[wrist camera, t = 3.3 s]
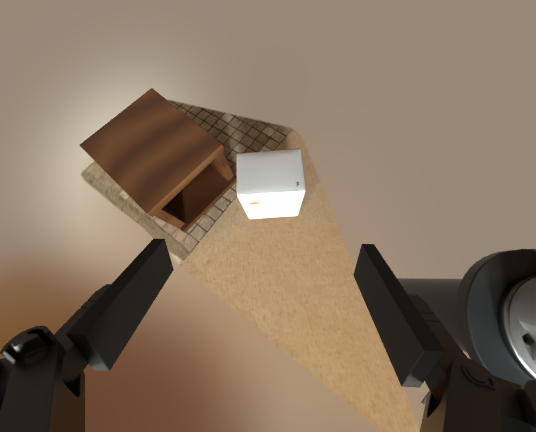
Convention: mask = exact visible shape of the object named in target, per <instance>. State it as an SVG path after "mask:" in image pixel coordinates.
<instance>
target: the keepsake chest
mask: <svg viewBox="0 0 536 432" xmlns="http://www.w3.org/2000/svg"><path fill="white" fill-rule="evenodd" d="M80 146H81V147H82V148H83V149H84V150H85V151H86V152H87V153H88V154H89V155H90V156H91V157H92V158H93V159H94V161H95V162H96V163H97V164H98V165H99V166H100V167H101V168H102V169H103V170H104V171H105V172H106V173H107V174H108V175H109V176H110V177H111V178H112V179H113V180H114V181H115V182H116V183H117V184H118V185H119V186H120V187H121V188H122V189H123V190H124V191H125V192H126V193H127V194H128V195H129V196H130V197H131V198H132V199H133V200H134V201H135V202H136V203H137V204H138V205H139V206H140V207H141V208H142V209H143V210H144V211H145V212H146V213H147V214H148V215H150V216H152V217H153V216H155V217H157V218H159V219H161V220H163V221H165V222H167V223H169V224H171V225H173V226H175V227H177V228H179V229H180V230H181V231H183V232H186V231H187V230H188V229H189V228H190V227H191V226H192V225H193V224H194V223H195V222H196V221H197V220H198V219H199V218H200V217H201V216H202V215H203V214H204V213H205V212H206V211H207V210H208V209H209V208H210V207H211V206H212V205H213V204H214V203H215V202H216V201H217V200H218V199H219V198H221V197H222V196H223V195H224V194H225V193H226V192H227V191H228V190H229V189H230V188H231V187H232V186H233V185H234V184H235V183H236V182H237V179H236V178H235V177H234V176H233V174H232V171H231V169H230V166H229V164H228V162H227V159H226V157H225V155H224V152H223V151H224V147H223V145H222V144H221V143H220V142H219V141H217V140H216V139H215V138H214V137H212V136H211V135H210V134H209V133H207V132H206V131H205V130H204V129H202V128H201V127H200V126H199V125H197V124H196V123H195V122H194V121H192V120H191V119H190V118H189V117H187V116H186V115H185V114H184V113H182V112H181V111H180V110H179V109H177V108H176V107H175V106H174V105H172V104H171V103H170V102H169V101H167V100H166V99H165V98H164V97H162V96H161V95H160V94H159V93H157V92H156V91H155V90H153V89H150V90H149V91H147V92H146V93H145V94H144V95H142V96H141V97H140V98H139V99H137V100H136V101H135V102H133V103H132V104H131V105H130V106H128V107H127V108H126V109H125V110H123V111H122V112H121V113H119V114H118V115H117V116H116V117H114V118H113V119H112V120H111V121H110V122H108V123H107V124H106V125H104V126H103V127H102V128H100V129H99V130H98V131H97V132H95V133H94V134H93V135H92V136H90V137H89V138H88V139H86V140H85V141H84V142H83V143H81V144H80Z"/></svg>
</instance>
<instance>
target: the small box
mask: <svg viewBox="0 0 536 432" xmlns="http://www.w3.org/2000/svg"><path fill="white" fill-rule="evenodd" d="M236 156H237V166H236V167H237V197H238V199H239V201H240V202H241V204H242V206H243V208H244V210H245V212H246V214H247V216H248V218H249V219H259V218H273V217H287V216H298V213H299V210H300V207H301V204H302V201H303V198H304V194H305V191H306V189H305V182H304V174H303V165H302V157H301V150H300V149H289V150H277V151H264V152H251V153H238V154H237V155H236Z"/></svg>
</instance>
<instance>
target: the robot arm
mask: <svg viewBox="0 0 536 432" xmlns="http://www.w3.org/2000/svg"><path fill="white" fill-rule="evenodd" d="M172 271H173V266H172V263H171V259H170V256H169V252H168V249H167V245H166V242H165V239H153V240H152V241H151V242H150V243H149V244H148V245H147V246H146V248H145V249H144V250H143V251H142V252H141V253H140V254H139V255H138V256H137V257H136V258H135V259H134V260H133V262H132V263H131V264H130V265H129V266H128V267H127V268H126V269H125V270H124V271H123V272H122V274H121V275H120V276H119V277H118V278H117V279H116V280H115V281H114V282H113V283H112V284H109V285H108V284H106V285H105V286H103V287H102V288H101V289H99V290H98V291H96V292H95V293H94V294H93V295H92V296H91V297H90V298H89V299H88V301H87V302H85V303H84V304H83V305H82V306H81V309H78V311H77V312H76V313H75V314H74V315H73V316H72V317H71V318H70V319H69V320H68V321H67V322H66V323H65V324H64V325H63V326H62V327H61V328H60V329H59V330H58V331H57V332H56V333H55V334H54V335H53V334H52V333H51V331H50V330H49V329H48V328H47V327H45V326H36V327H33V328H30V329H27V330H26V331H23V332H21V333H20V334H18V335H17V336H15V337H14V338H12V339H11V340H10V341H9V342H8V343H7V344H6V345H5V346H4V347H3V349H2V350H1V352H0V353H1V354H2V355H3V356H4V357H5V358H3V359H0V432H85V375H84V372H83V370H84V369H85V367H86V366H87V364H89V365H90V366H91V367H92V369H93V370H100V371H110V370H111V368H112V366H113V365H114V363H115V362H116V360H117V359H118V357H119V355H120V354H121V352H122V351H123V349H124V347H125V346H126V344H127V343H128V341H129V340H130V338H131V336H132V335H133V333H134V332H135V330H136V328H137V327H138V325H139V324H140V322H141V320H142V319H143V317H144V315H145V314H146V313H147V311H148V309H149V308H150V306H151V305H152V303H153V301H154V300H155V298H156V297H157V295H158V294H159V292H160V290H161V289H162V287H163V286H164V284H165V282H166V281H167V279H168V278H169V276H170V274H171V273H172ZM354 277H355V280H356V282H357V284H358V287H359V289H360V291H361V294H362V296H363V298H364V301H365V303H366V305H367V308H368V310H369V312H370V315H371V317H372V319H373V322H374V324H375V326H376V328H377V331H378V333H379V335H380V338H381V340H382V342H383V345H384V347H385V349H386V352H387V354H388V356H389V359H390V361H391V363H392V366H393V368H394V370H395V372H396V375H397V377H398V379H399V382H400V384H401V386H402V387H420V386H421V385H422V384H423V382H424V381H425V382H426V384H427V386H428V387H429V389H430V391H429V392H428V393H427V395H426V396H425V397H424V399H423V400H422V403H423V404H425V403H426V405H425V409H424V414H423V419H422V424H421V428H420V432H536V275H529V276H525V277H521V278H519V279H517V280H515V281H513V282H512V283H511V284H509V285H508V286H507V288H506V289H505V290H504V291H503V293H502V295H501V297H500V300H499V303H498V309H497V320H498V327H499V331H500V334H501V337H502V340H503V342H504V344H505V346H506V348H507V350H508V352H509V353H510V355H511V357H512V358H513V359H514V361H515V362H516V363H517V365H518V366H519V367H520V368H521V369H522V370H523V371H524V372H525V373H526V374H527V375H528V376H529V377H530V378H532V379H533V380H532V381H527V382H526V383H525V384H524V385H522V386H521V385H518V384H515V383H512V382H510V381H507V380H504V379H501V378H498V377H495V376H493V375H492V374H491V373H490V372H489V371H488V370H487V369H486V368H485V367H483V366H482V365H480V364H479V363H477V362H476V361H474V360H471V359H469V358H467V356H466V355H465V354H464V353H463V351H462V350H461V349H460V347H459V346H458V345H457V343H456V342H455V341H454V339H453V338H452V336H451V335H450V334H449V332H448V331H447V330H446V328H445V327H444V326H443V324H442V323H440V320H439V319H438V317H437V316H436V315H434V312H433V311H432V309H431V308H430V307H429V305H428V304H427V303H426V302H425V301H424V300H423V299H421V298H420V297H419V296H418V295H413V294H407V293H406V292H405V290H404V289H403V287H402V286H401V284H400V283H399V281H398V280H397V278H396V277H395V275H394V274H393V272H392V271H391V269H390V268H389V266H388V265H387V263H386V262H385V260H384V259H383V257H382V256H381V254H380V253H379V251H378V250H377V248H376V247H375V245H374V244H362V245H361V249H360V253H359V257H358V260H357V264H356V268H355V272H354Z"/></svg>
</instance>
